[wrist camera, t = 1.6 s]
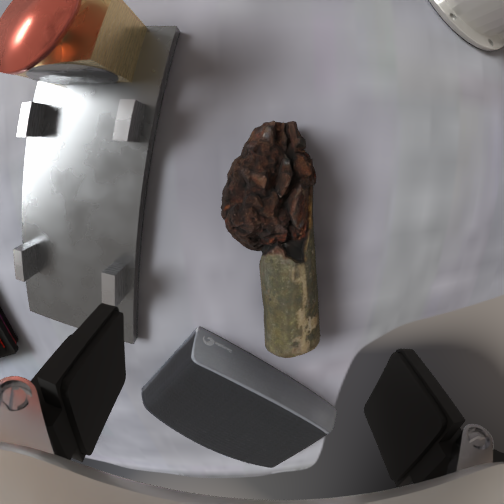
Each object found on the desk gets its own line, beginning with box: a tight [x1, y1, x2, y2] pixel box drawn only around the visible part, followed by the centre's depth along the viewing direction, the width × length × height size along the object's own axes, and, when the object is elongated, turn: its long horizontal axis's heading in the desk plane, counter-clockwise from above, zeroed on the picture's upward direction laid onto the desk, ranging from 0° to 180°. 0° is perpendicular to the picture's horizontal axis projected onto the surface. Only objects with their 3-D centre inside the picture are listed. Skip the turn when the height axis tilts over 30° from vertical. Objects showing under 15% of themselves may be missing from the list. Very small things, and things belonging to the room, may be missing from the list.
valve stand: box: [0, 0, 180, 344], centre depth 17 cm, size 13×29×11 cm, turn 169°
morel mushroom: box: [221, 121, 321, 358], centre depth 22 cm, size 18×7×6 cm, turn 6°
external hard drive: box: [142, 327, 337, 468], centre depth 28 cm, size 13×19×4 cm
